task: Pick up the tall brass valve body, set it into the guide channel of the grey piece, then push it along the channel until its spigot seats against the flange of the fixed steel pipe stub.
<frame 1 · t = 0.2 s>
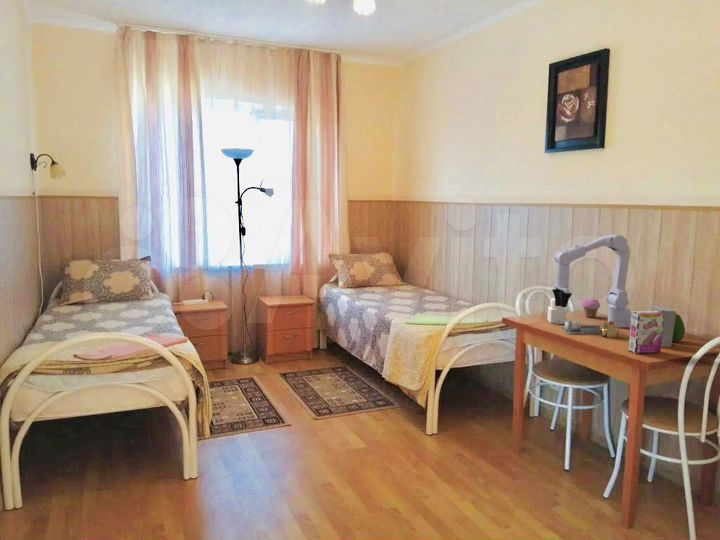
hand: (561, 305, 260), 10 cm above the table, tool pointing down, fingers open, 7 cm apart
avocado: (673, 341, 234), on the table
skincare box: (659, 345, 228), on the table
candy bar box: (644, 352, 217), on the table
grey piece: (583, 331, 250), on the table
medicine bottle: (556, 322, 269), on the table
cupcake: (590, 317, 282), on the table
valve: (609, 336, 242), on the table
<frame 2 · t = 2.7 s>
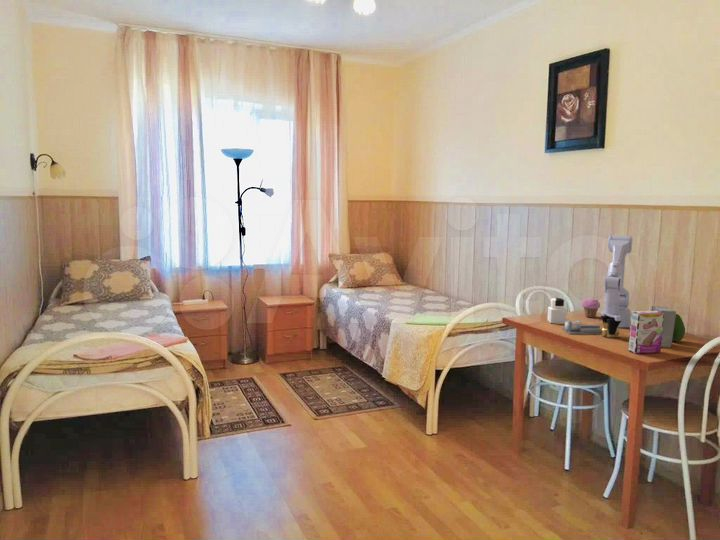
hand: (609, 333, 241), 1 cm above the table, tool pointing down, fingers closed on valve, 4 cm apart
valve: (609, 336, 242), on the table, touching gripper
everything else where it was.
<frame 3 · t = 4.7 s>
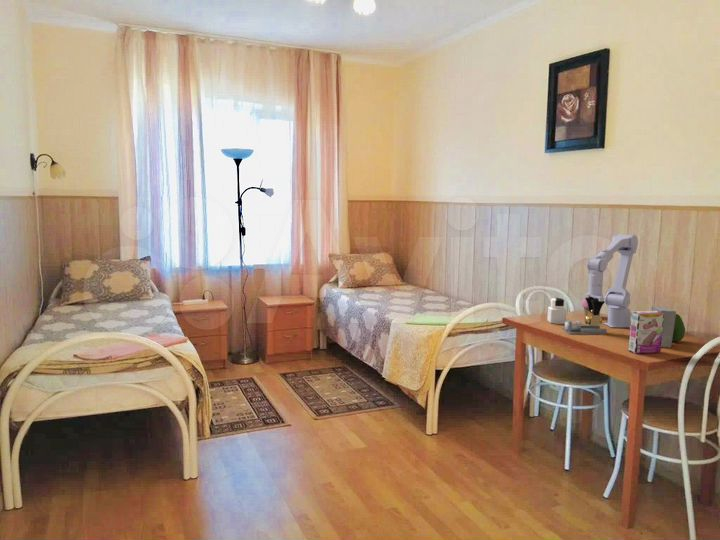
hand: (593, 314, 249), 8 cm above the table, tool pointing down, fingers closed on valve, 4 cm apart
valve: (593, 324, 250), point 3 cm above the table, touching gripper
everything else where it was.
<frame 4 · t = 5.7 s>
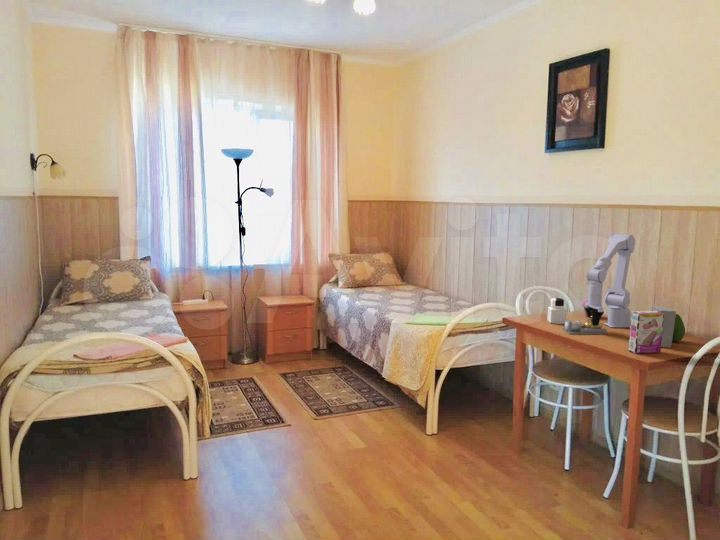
hand: (593, 324, 250), 3 cm above the table, tool pointing down, fingers closed on valve, 4 cm apart
valve: (592, 330, 250), point 1 cm above the table, touching gripper, grey piece
everything else where it was.
when the fingers open (3 cm above the table, at t = 6.0 s): valve stays where it is, resting on grey piece.
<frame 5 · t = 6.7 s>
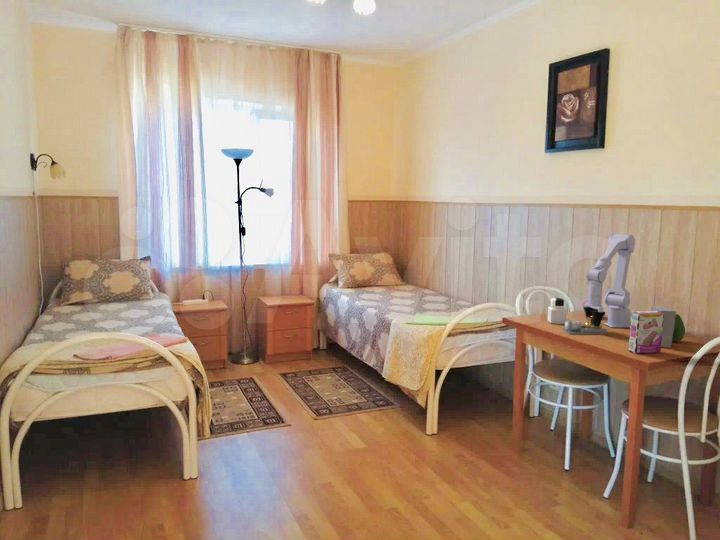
hand: (593, 324, 250), 3 cm above the table, tool pointing down, fingers open, 7 cm apart
valve: (592, 330, 250), point 1 cm above the table, touching grey piece
everything else where it was.
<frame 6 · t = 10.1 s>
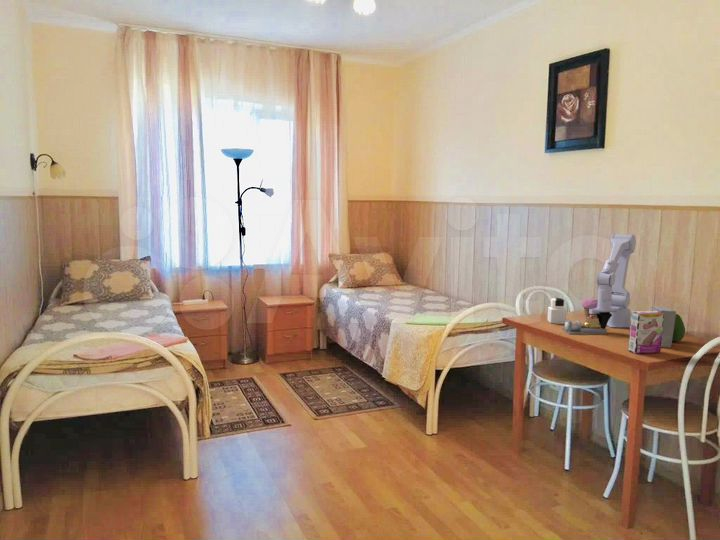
hand: (602, 328, 250), 2 cm above the table, tool pointing down, fingers closed
valve: (591, 330, 250), point 1 cm above the table, touching gripper
everything else where it was.
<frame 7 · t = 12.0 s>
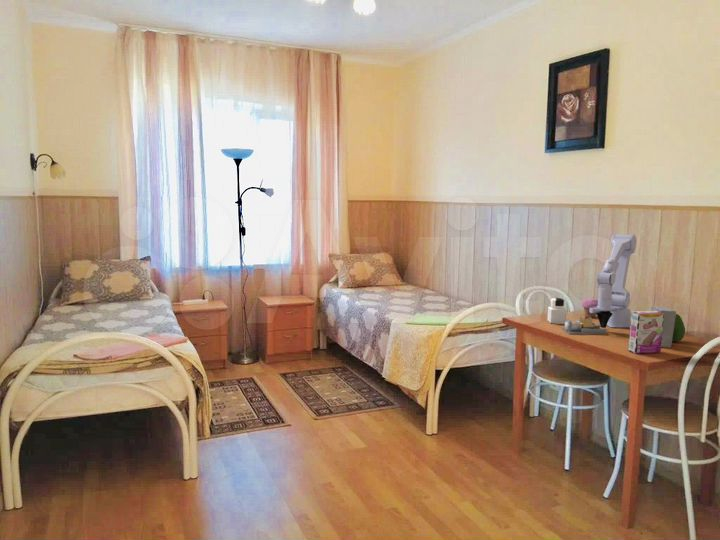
hand: (603, 327, 250), 2 cm above the table, tool pointing down, fingers closed
valve: (585, 330, 250), point 1 cm above the table, touching grey piece
everything else where it was.
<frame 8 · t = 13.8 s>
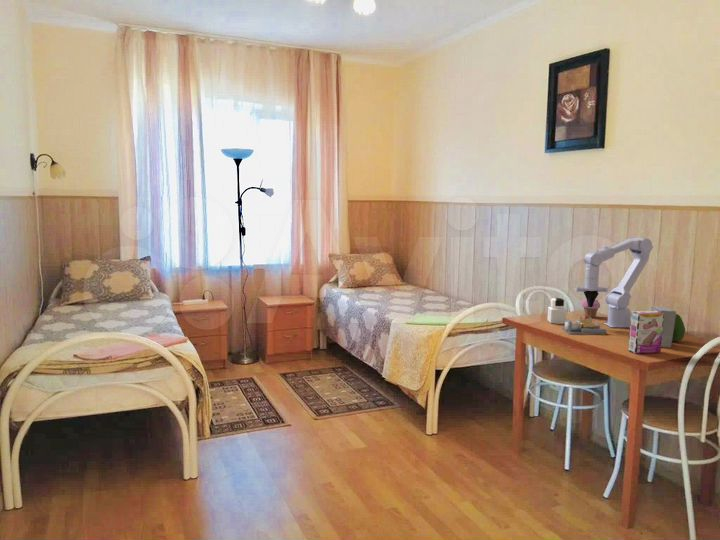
hand: (590, 306, 258), 10 cm above the table, tool pointing down, fingers closed
nothing on the table moved.
at the end: valve 0.9 cm from the target spot on the grey piece, point 0.6 cm above the grey piece's base; valve tilted 0° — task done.
